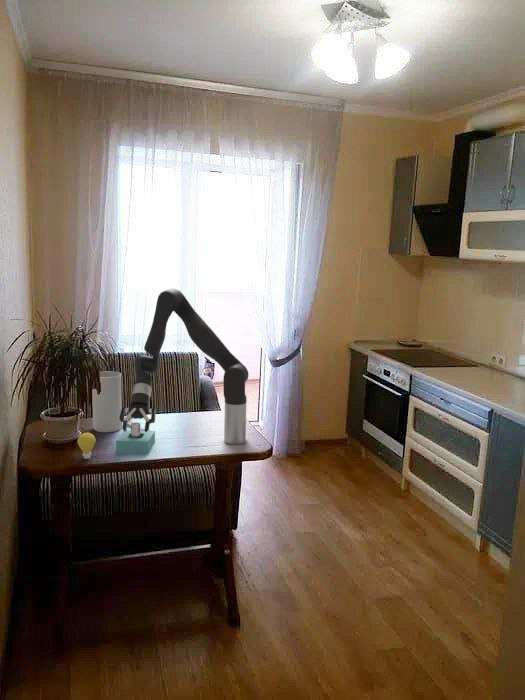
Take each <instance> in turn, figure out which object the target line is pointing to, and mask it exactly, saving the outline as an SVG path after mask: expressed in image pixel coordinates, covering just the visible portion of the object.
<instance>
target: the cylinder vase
mask: <svg viewBox="0 0 525 700" xmlns="http://www.w3.org/2000/svg"><path fill="white" fill-rule="evenodd" d="M99 372H100V383H101V392H100V394H99V395H98V394H97V390H96V389H93V390H91V391H92V392H91V393H92V394H91V395H92V397H91V398H92V428H93V430H94V431H95V432H98V433H113V432H117V431H120V430H121V429H123V428H122V426H123V422H121V421H120V419H119V417H120V413H121V409H122V407H123V405H122V404H123V403H122V373H121V372H119V371H113V370H112V371H99Z"/></svg>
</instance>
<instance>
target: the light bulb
mask: <svg viewBox="0 0 525 700" xmlns="http://www.w3.org/2000/svg"><path fill="white" fill-rule="evenodd" d="M77 438H78V439H77V445H78V446H79V448H80V450H81V451H82V456H83V459H85V460H87V459H91V456H92V450H93V449H94V447H95V444H96V443H97V442H96V441H97V440H96V437H95V435H94V434H92V433H91V432H84V433H82V434H80V435H79V436H78V437H77Z"/></svg>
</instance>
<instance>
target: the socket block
mask: <svg viewBox="0 0 525 700" xmlns="http://www.w3.org/2000/svg"><path fill="white" fill-rule="evenodd" d="M155 443H156V431H155V430H151V431H147V432H145V431H140V438H131V429H130V430H126V431H124V430H122V432H121V433H120V434H119V435H118V437H117V438H116V439H115V453H123V454H124V453H125V454H150V452H151V450H152V448H153V446H154V444H155Z"/></svg>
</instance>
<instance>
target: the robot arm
mask: <svg viewBox="0 0 525 700" xmlns="http://www.w3.org/2000/svg"><path fill="white" fill-rule="evenodd" d="M154 310H155V311H154V315H153V319H152V324H151V327H150V330H149V333H148V336H147V339H146V341H145V345H144V351H145V352H146V353H147V354H149V355H151V356H149V355H146V354H137V356H135V358H134V361H133V365H134V373H135V379H134V380H135V381H134V385H133V386H134V387H133V389H132V394H131V400H130V404H129V405H130V406H129V407H125V406H122V409H121V413H120V417H119V419H120V421H121V422H122V428H121V429H122V431H126V430H127V429H128V425H127V423H128V422H129V421H131V420H133V419H140V420H142V419H144V421H145V424H144V429H145V432H147V431H148V430H150V425H151V424H154V423H155V422H156V414H157V413H156V412H157V411H156V408H155V407H152V408H150V407H149V406H150V400H151V394H152V392H151V391H152V385H153V377H152V375H151V374H154V373H156V372H157V371H158V369H159V367H160V366H159V364H160V362H159V361H160V354H161V353H160V352H161V350H162V347H163V345H164V342H165V338H166V334H167V333H166V331H167V325H168V322H169V319H170V317H171V315H172V314H173V312H174V313H175V314H176V315H177V316H178V317H179V318H180V320H181V322H183V324H184V326H185V329H186V331H187V334H188V336H189V338H190V340H191V341H192V343H194V344H195V346H196V347H198V349H199V350H200V351H201V352H202V353H203V354H205V355H206V356H208V357H209V358H210V359H212V360H214V361H215V362H216V363H217V364H218V365H219V366H220V368H222V369H223V371H224V373H223V378H222V379H223V381H222V382H223V383H222V384H223V388H222V389H223V397H224V425H223V426H224V427H223V429H224V430H223V431H224V432H223V441H224V442H225V444H230V445H241V444H246V442H247V441H246V440H247V402H248V401H247V397H248V396H247V395H246V382H247V380H248V379H249V371H248V369H247V367H246V366H245V365H244V364H243V362H241V361H240V360H239V359H238V358H237V357H236V356H235V355H234V354H232V352H231V351H230V350H229V349H228V348H227V346H226V345H225V344H224V343H223V341H222V340H221V339H220V338H219V337H218V335H217V334H216V333H215V331H214V330H213V329H212V328H211V327H210V326H209V325H208V324H207V323H206V322H205V320H204V319H203V318H202V317H201V316H200V314H199V313H197V311H196V310H195V309H194V307H192V305H191V304H190V301H188V300H187V298H186V296H185V295H184V294H183V292H181V290H179V289H177V288H169V289H166V290H162V291H161V292H160V293H159V294H158V297H157V299H156V305H155V309H154ZM149 413H150V415H151V418H149V417H148V414H149ZM126 414H127V415H126ZM125 415H126V416H125Z"/></svg>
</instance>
